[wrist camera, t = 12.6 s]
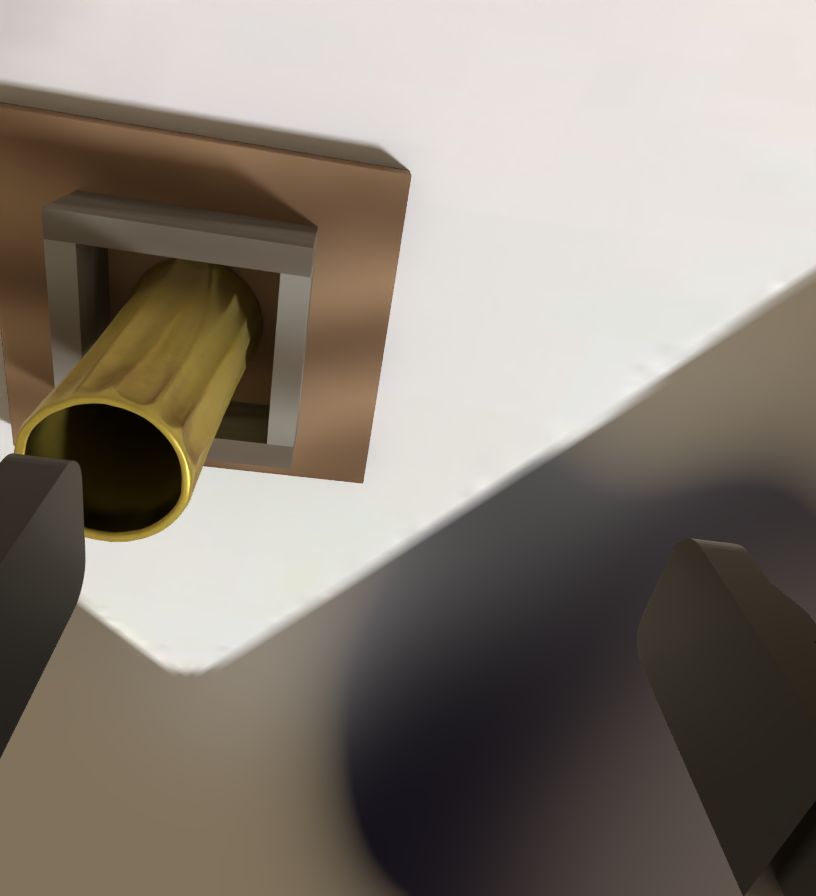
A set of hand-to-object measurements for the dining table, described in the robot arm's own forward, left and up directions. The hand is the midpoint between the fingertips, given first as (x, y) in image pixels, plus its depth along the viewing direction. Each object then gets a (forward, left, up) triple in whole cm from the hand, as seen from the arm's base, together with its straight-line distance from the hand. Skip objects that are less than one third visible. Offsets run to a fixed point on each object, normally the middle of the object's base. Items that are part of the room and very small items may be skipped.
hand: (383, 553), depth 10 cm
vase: (+6, -7, -26) cm, 27 cm away
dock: (+7, -7, -27) cm, 29 cm away
